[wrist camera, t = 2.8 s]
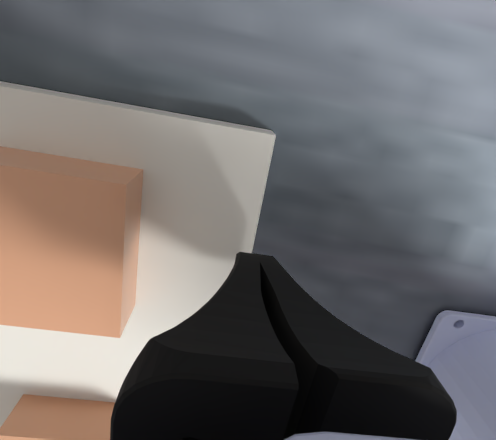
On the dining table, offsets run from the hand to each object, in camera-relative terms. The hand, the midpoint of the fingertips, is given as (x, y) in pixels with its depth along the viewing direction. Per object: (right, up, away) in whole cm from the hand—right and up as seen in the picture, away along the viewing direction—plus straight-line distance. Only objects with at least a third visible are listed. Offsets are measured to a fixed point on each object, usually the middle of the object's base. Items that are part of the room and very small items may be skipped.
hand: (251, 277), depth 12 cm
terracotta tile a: (-7, +2, +1) cm, 7 cm away
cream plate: (-7, -4, +4) cm, 9 cm away
